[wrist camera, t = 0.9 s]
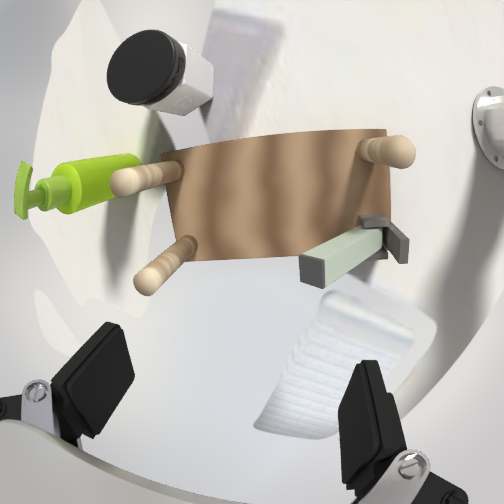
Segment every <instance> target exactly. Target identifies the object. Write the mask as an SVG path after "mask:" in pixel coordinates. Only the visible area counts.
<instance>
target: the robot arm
mask: <svg viewBox="0 0 504 504" xmlns="http://www.w3.org/2000/svg"><path fill="white" fill-rule="evenodd" d="M473 123H474V129H475V134H476V137H477V140H478V143H479V145H480V147H481V149H482V151H483V153H484V154H485V156H486V157H487V158H488V160H489V161H490V162H491V163H492V164H493V165H494V166H496V167H498V168H500V169H503V170H504V89H503V88H500V87H496V86H492V87H488V88H484V89H483V90H482V91H480V93H479V94H478V95H477V97H476V100H475V103H474V108H473ZM134 377H135V373H134V370H133V366H132V363H131V359H130V355H129V352H128V348H127V344H126V340H125V336H124V332H123V330H122V329H121V327H120V326H119V325H118V324H114V323H111V322H105V323H104V324H103V325H102V326H101V327H100V328H99V329H98V330H97V331H96V332H95V333H94V335H92V336H91V337H90V338H89V340H88V341H87V342H86V343H85V344H84V345H83V346H82V347H81V348H80V349H79V350H78V351H77V352H76V353H75V354H74V355H73V356H72V357H71V359H70V360H69V361H68V362H67V363H66V364H65V365H64V366H63V367H62V368H61V369H60V371H59V372H58V373H57V374H56V375H55V376H54V377H53V378H52V380H51V382H52V383H51V384H50V385H49V383H48V382H46V381H44V380H33V381H31V382H30V383H28V384H27V385H26V386H25V388H24V389H23V392H22V394H21V395H16V396H9V397H2V398H0V504H247V503H240V502H234V501H228V500H223V499H218V498H213V497H208V496H204V495H199V494H195V493H191V492H187V491H183V490H180V489H177V488H173V487H170V486H167V485H163V484H160V483H157V482H154V481H152V480H149V479H146V478H143V477H140V476H138V475H135V474H133V473H130V472H128V471H125V470H123V469H120V468H118V467H116V466H113V465H111V464H109V463H107V462H105V461H102V460H100V459H98V458H96V457H94V456H92V455H90V454H88V453H86V452H84V451H83V449H82V444H81V439H80V436H81V435H82V433H83V434H84V435H86V436H88V437H90V438H92V439H94V437H95V435H98V434H100V432H101V431H102V429H103V428H104V426H105V424H106V423H107V421H108V419H109V418H110V416H111V415H112V413H113V412H114V410H115V409H116V407H117V406H118V404H119V402H120V401H121V399H122V398H123V396H124V395H125V393H126V392H127V390H128V388H129V387H130V385H131V384H132V382H133V380H134ZM338 421H339V435H340V448H341V449H340V450H341V470H342V483H343V484H346V488H347V490H352V489H355V496H356V498H355V499H354V500H353V502H352V503H351V504H468V496H467V494H466V492H465V491H464V490H462V489H461V488H459V487H457V486H455V485H453V484H451V483H450V482H448V481H446V480H444V479H443V478H441V477H439V476H437V475H436V474H434V473H432V472H430V462H429V459H428V458H427V457H426V455H425V454H423V453H422V452H421V451H417V450H407V447H406V442H405V438H404V434H403V430H402V426H401V422H400V418H399V414H398V411H397V407H396V404H395V400H394V397H393V395H392V394H391V393H387V392H386V388H385V385H384V381H383V378H382V374H381V371H380V367H379V364H378V362H377V360H362V361H361V363H360V364H356V366H355V369H354V371H353V374H352V377H351V379H350V382H349V384H348V387H347V389H346V391H345V394H344V396H343V398H342V401H341V403H340V405H339V409H338Z"/></svg>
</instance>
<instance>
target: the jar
mask: <svg viewBox="0 0 504 504" xmlns="http://www.w3.org/2000/svg"><path fill="white" fill-rule="evenodd" d="M107 84H108V88H109V90H110V92H111V93H112V95H113V96H114V97H115V98H116V99H118V100H119V101H122V102H124V103H128V104H132V105H141V106H143V107H145V108H147V109H150V110H156V111H161V112H167V113H172V114H177V115H182V116H185V115H187V114H188V113H190V112H191V111H193V110H194V109H196V108H198V107H199V106H201V105H202V104H204V103H206V102H207V101H209V100H210V99H212V98H213V85H214V66H213V65H212V64H210V63H209V62H208V61H207V60H205V59H204V58H203V57H202V56H200V55H199V54H198V53H197V52H195V51H194V50H193V49H191V48H190V47H189V46H187V45H185V44H182V43H180V42H177V41H176V40H175V39H173V38H172V37H170V36H169V35H167V34H166V33H164V32H162V31H159V30H144V31H141V32H138V33H136V34H134V35H132V36H130V37H129V38H127V39H126V40H125V41H124V42H123V43H122V44H121V45H120V46H119V47H118V48H117V49H116V51H115V52H114V54H113V56H112V58H111V60H110V62H109V65H108V69H107Z"/></svg>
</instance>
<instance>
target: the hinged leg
mask: <svg viewBox="0 0 504 504" xmlns="http://www.w3.org/2000/svg"><path fill="white" fill-rule="evenodd" d="M381 248H382V227H369V228H364V227H363V226H362V224H361V225H359V226H357V227H355V228H353V229H351V230H349V231H347V232H345V233H343V234H341V235H339V236H337V237H335V238H333V239H331V240H329V241H327V242H325V243H323V244H321V245H319V246H317V247H315V248H313V249H310V250H308V251H306V252H304V253H302V254H300V255H299V269H300V282H303V283H306V284H309V285H312V286H315V287H318V288H321V289H323V288H325V287H326V286H328V285H329V284H331V283H332V282H334V281H335V280H337V279H338V278H340V277H341V276H343V275H344V274H346V273H347V272H348V271H350V270H351V269H353V268H354V267H356V266H357V265H359V264H360V263H361V262H363V261H364V260H366V259H367V258H368V257H370V256H371V255H373V254H374V253H375V252H377V251H378V250H379V249H381Z"/></svg>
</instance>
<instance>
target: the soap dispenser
mask: <svg viewBox="0 0 504 504" xmlns="http://www.w3.org/2000/svg"><path fill="white" fill-rule="evenodd" d="M141 165H142V164H141V162H140V161H139V159H138V158H137V157H136V156H134V155H132V154H120V155H112V156H104V157H97V158H90V159H84V160H78V161H72V162H66V163H62V164H60V165H58V166H57V167H56V168H55V169H54V171H53V173H52V176H51V177H50V178H46V179H42V180H39V181H38V182H37V184H36V186H35V190H32V191H29V183H30V178H31V175H32V171H33V168H32V167H31V166H30V165H29V164H27V163H25V162H23V161H21V163H20V166H19V169H18V173H17V177H16V182H15V193H14V209H15V213H16V214H17V215H18V216H19V217H20V218H22V219H23V220H24V219H27V217H28V209H31V208H33V207H36V206H38V208H39V209H40V210H41V211H48V210H51V209H54V208H57V209H58V210H59V211H60V212H62V213H64V214H72V213H75V212H77V211H80V210H82V209H85V208H88V207H90V206H93V205H96V204H98V203H101V202H104V201H107V200H109V199H112V198H115V197H116V196H115V195H114V194H113V193H112V191H111V189H110V177H111V175H112V174H113V172H115V171H116V170H120V169H125V168H130V167H136V166H141ZM28 191H29V192H28Z"/></svg>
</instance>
